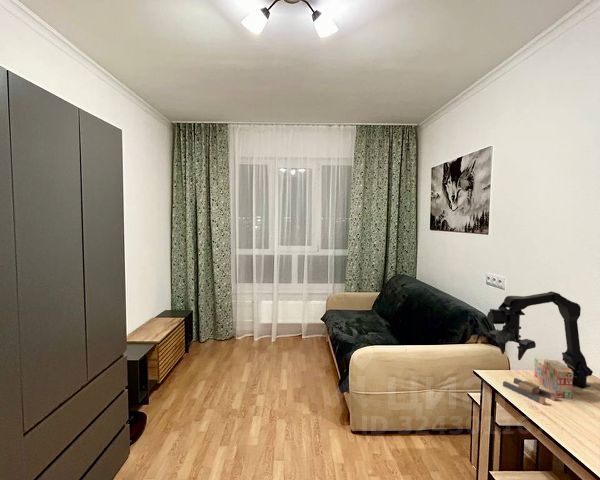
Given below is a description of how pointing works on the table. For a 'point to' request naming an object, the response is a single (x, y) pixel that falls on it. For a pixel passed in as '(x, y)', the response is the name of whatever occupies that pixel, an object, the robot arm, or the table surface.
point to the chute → (530, 395)
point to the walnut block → (529, 387)
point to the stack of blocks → (554, 377)
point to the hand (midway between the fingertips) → (510, 356)
